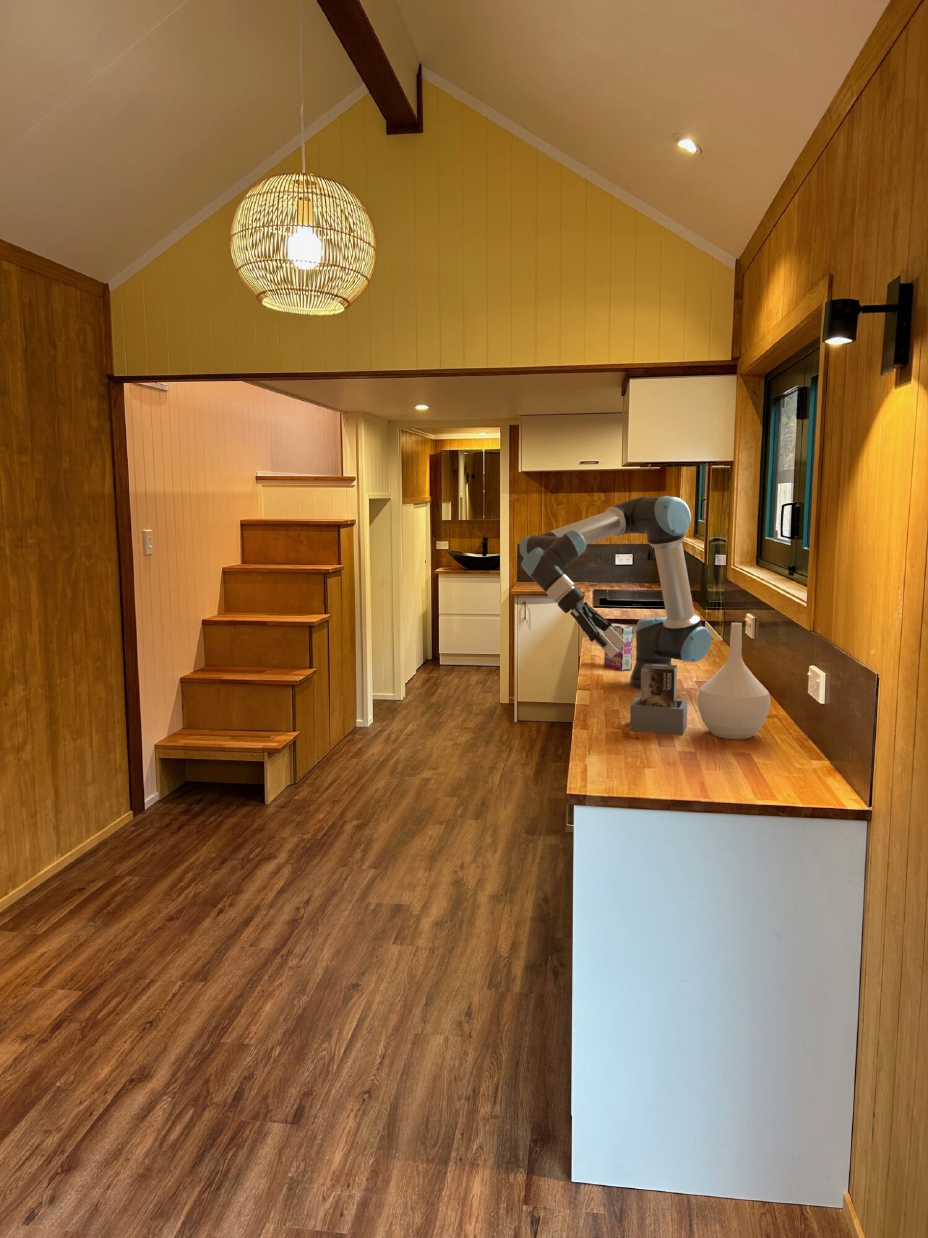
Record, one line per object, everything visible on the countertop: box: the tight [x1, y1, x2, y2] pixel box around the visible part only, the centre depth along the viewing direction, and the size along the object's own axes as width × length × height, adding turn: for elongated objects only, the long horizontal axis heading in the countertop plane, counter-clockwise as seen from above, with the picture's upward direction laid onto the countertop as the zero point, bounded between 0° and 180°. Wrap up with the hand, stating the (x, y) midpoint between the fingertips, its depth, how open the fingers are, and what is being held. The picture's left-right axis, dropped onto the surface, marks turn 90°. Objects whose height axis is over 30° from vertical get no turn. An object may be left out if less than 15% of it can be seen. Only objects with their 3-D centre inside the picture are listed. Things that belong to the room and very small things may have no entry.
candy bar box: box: [603, 622, 634, 672], centre depth 319 cm, size 11×5×16 cm, turn 27°
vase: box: [697, 622, 771, 740], centre depth 225 cm, size 18×18×30 cm
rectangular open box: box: [629, 696, 688, 736], centre depth 233 cm, size 11×14×7 cm
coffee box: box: [640, 664, 678, 708], centre depth 233 cm, size 9×6×16 cm
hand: (618, 650), depth 237 cm, fingers open, 13 cm apart
